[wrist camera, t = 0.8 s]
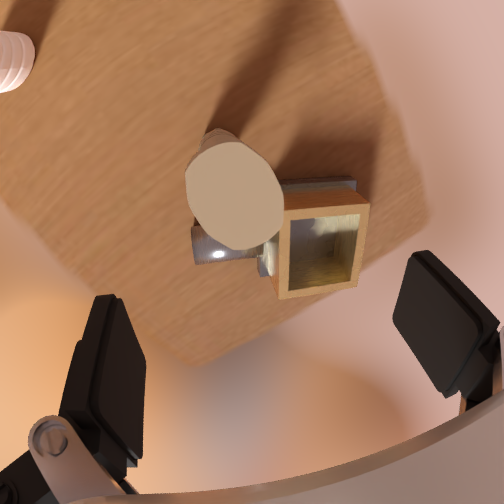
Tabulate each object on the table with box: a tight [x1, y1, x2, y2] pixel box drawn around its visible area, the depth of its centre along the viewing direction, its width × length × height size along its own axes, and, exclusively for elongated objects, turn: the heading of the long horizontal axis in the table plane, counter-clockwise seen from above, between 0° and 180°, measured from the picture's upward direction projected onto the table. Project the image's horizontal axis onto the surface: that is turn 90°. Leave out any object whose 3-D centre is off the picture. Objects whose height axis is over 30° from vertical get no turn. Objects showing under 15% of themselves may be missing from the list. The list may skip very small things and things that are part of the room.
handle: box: [185, 128, 284, 250], centre depth 23 cm, size 5×6×15 cm
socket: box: [191, 176, 370, 300], centre depth 33 cm, size 11×18×6 cm, turn 92°
